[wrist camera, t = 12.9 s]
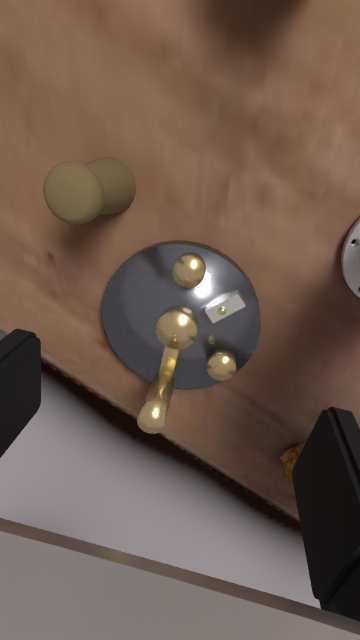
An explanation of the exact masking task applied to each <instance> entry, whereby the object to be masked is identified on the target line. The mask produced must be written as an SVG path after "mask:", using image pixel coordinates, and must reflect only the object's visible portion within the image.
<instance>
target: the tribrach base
mask: <svg viewBox="0 0 360 640" xmlns="http://www.w3.org/2000/svg"><path fill="white" fill-rule="evenodd" d="M173 306H181V307H185V308H187V309H189V310H190V311H192V312H193V313H194V315H195V316H196V318H197V320H198V331H197V335H196V339H195V341H194V342H193V343H192V344H191V345H190V346H189V347H187V348H185V349H179V353H178V357H177V361H176V365H175V369H174V372H173V376H174V378H175V386H174V388H178V389H196V388H203V387H207V386H211V385H214V384H217V383H219V382H221V381H225V380H228V379H230V378H232V377H233V376H234V374H235V373H236V372H237V371H238V370H239V369H240V368H241V367H243V365H244V364H245V363H246V362H247V361H248V359H249V358H250V356H251V354H252V353H253V351H254V349H255V346H256V344H257V341H258V337H259V333H260V311H259V305H258V300H257V296H256V293H255V290H254V288H253V286H252V284H251V282H250V280H249V279H248V277H247V276H246V274H245V273H244V272H243V270H242V269H241V268H240V267H239V266H238V265H237V264H236V263H235V262H234V261H233V260H231V259H230V258H229V257H228V256H226V255H225V254H223V253H221V252H220V251H218V250H216V249H214V248H211V247H209V246H207V245H203V244H200V243H196V242H190V241H167V242H161V243H157V244H153V245H151V246H148V247H146V248H144V249H142V250H140V251H139V252H137V253H135V254H134V255H133V256H131V257H130V258H129V259H128V260H127V261H126V262H124V263H123V264H122V265H121V266H120V268H119V269H118V270H117V271H116V272H115V273H114V275H113V276H112V278H111V279H110V281H109V283H108V285H107V287H106V291H105V294H104V297H103V303H102V320H103V326H104V330H105V333H106V336H107V338H108V341H109V343H110V345H111V346H112V348H113V350H114V351H115V353H116V354H117V355H118V357H119V358H120V359H121V360H122V361H123V362H124V363H125V364H126V365H127V366H128V367H129V368H130V369H131V370H133V371H134V372H135V373H137V374H138V375H140V376H142V377H143V378H145V379H147V380H149V381H151V382H152V380H153V377H154V375H155V374H156V373H157V372H159V370H160V366H161V361H162V357H163V353H164V348H165V345H163V344H162V343H161V342H160V341H159V339H158V337H157V335H156V324H157V322H158V320H159V318H160V316H161V314H162V313H163V312H164V311H165V310H166V309H168V308H170V307H173Z"/></svg>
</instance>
